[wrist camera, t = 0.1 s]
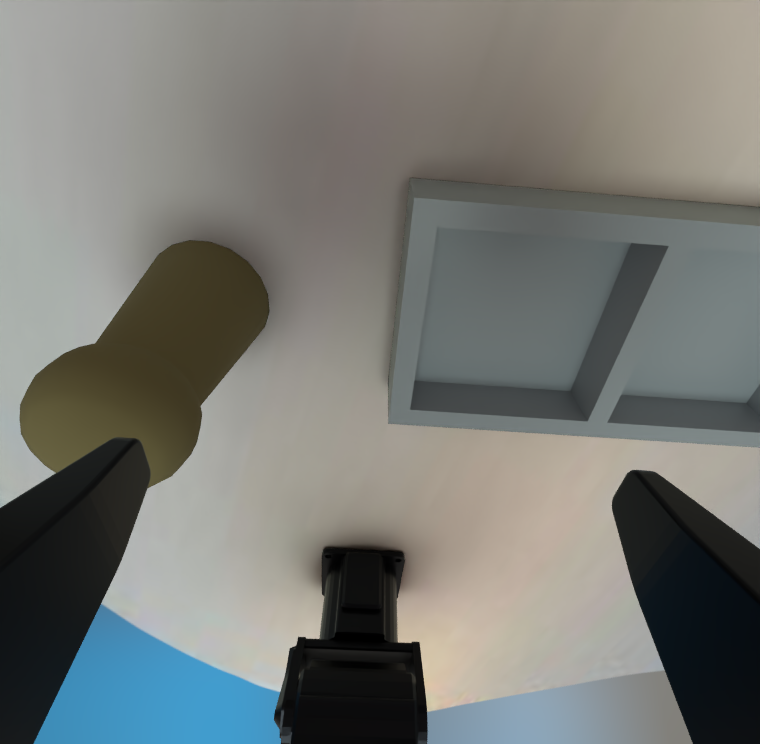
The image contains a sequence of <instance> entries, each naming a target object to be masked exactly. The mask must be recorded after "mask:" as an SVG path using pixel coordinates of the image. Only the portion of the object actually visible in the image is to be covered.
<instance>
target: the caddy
mask: <svg viewBox="0 0 760 744" xmlns="http://www.w3.org/2000/svg"><path fill="white" fill-rule="evenodd" d="M388 424H402V425H417V426H433V427H448V428H464V429H479V430H495V431H510V432H526V433H541V434H557V435H572V436H588V437H603V438H619V439H635V440H650V441H666V442H681V443H697V444H712V445H728V446H743V447H759V448H760V207H752V206H740V205H728V204H716V203H704V202H692V201H680V200H668V199H656V198H644V197H632V196H620V195H608V194H596V193H584V192H573V191H561V190H549V189H537V188H525V187H513V186H501V185H489V184H477V183H465V182H453V181H441V180H429V179H417V178H410V182H409V191H408V200H407V210H406V219H405V229H404V238H403V247H402V257H401V266H400V275H399V285H398V294H397V304H396V313H395V322H394V332H393V341H392V350H391V360H390V369H389V378H388Z"/></svg>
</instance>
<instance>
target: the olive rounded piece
mask: <svg viewBox="0 0 760 744" xmlns="http://www.w3.org/2000/svg"><path fill="white" fill-rule="evenodd" d="M268 315H269V301H268V294H267V291H266V289H265V287H264V284H263V282H262V280H261V277H260V276H259V275H258V274H257V273H256V271H255V270H254V269H253V268H252V266H251V265H250V264H249V263H248V262H247V261H246V260H244V259H243V258H242V257H240V256H239V255H237V254H236V253H235V252H233V251H232V250H230V249H228V248H225V247H223V246H220V245H217V244H215V243H212V242H205V241H191V240H189V241H186V242H182V243H178V244H174V245H171V246H170V247H169V248H167V249H166V250H164V251H163V252H162V253H160V254H159V255H158V256H157V257H156V259H155V260H154V262H153V263H152V264H151V266H150V267H149V269H148V270H147V271H146V273H145V274H144V276H143V277H142V278H141V280H140V281H139V283H138V284H137V286H136V287H135V288H134V290H133V291H132V293H131V294H130V295H129V297H128V298H127V300H126V301H125V302H124V304H123V305H122V307H121V308H120V309H119V311H118V312H117V314H116V315H115V316H114V318H113V319H112V321H111V322H110V323H109V325H108V326H107V328H106V329H105V330H104V332H103V333H102V335H101V336H100V338H99V339H98V340H97V342H96V343H95V344H91V345H86V346H82V347H78V348H76V349H73V350H71V351H69V352H66V353H64V354H63V355H61V356H60V357H58V358H57V359H56V360H54V361H53V362H51V363H50V364H49V365H47V366H46V367H45V368H44V369H43V370H41V371H40V372H39V373H38V374H37V375H35V377H34V379H33V380H32V382H31V384H30V386H29V387H28V389H27V391H26V393H25V396H24V398H23V400H22V402H21V404H20V427H21V435H22V436H23V438H24V440H25V442H26V444H27V446H28V447H29V449H30V451H31V452H32V453H33V454H34V455H35V456H36V457H37V458H38V459H39V460H40V461H41V462H42V463H43V464H44V465H45V466H47V467H48V468H50V469H51V470H53V471H54V472H56V473H57V472H59V471H60V470H62V469H64V468H65V467H67V466H68V465H70V464H72V463H73V462H75V461H76V460H78V459H80V458H81V457H83V456H84V455H86V454H88V453H89V452H91V451H92V450H94V449H96V448H97V447H99V446H101V445H102V444H104V443H105V442H107V441H109V440H110V439H112V438H116V437H124V438H136V439H139V440H140V441H141V443H142V445H143V448H144V451H145V454H146V457H147V460H148V463H149V466H150V470H151V478H150V482H149V485H148V488H149V487H151V486H153V485H155V484H157V483H159V482H161V481H163V480H165V479H167V478H169V477H171V476H172V475H173V474H174V473H175V472H176V471H177V470H178V469H179V468H180V467H181V466H182V464H183V463H184V462H185V461H186V460H187V458H188V457H189V456H190V455H191V453H192V451H193V449H194V447H195V445H196V443H197V440H198V435H199V431H200V426H201V418H202V412H201V407H200V406H201V405H202V403H203V402H204V401H205V400H206V398H207V397H208V396H209V395H210V394H211V392H212V391H213V390H214V389H215V387H216V386H217V385H218V384H219V383H220V381H221V380H222V379H223V378H224V376H225V375H226V374H227V373H228V372H229V370H230V369H231V368H232V367H233V365H234V364H235V363H236V362H237V361H238V359H239V358H240V357H241V356H242V354H243V353H244V352H245V351H246V350H247V348H248V347H249V346H250V345H251V343H252V342H253V341H254V340H255V339H256V337H257V336H258V335H259V333H260V332H261V331H262V330H263V328H264V327H265V325H266V321H267V318H268Z"/></svg>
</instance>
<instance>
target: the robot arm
mask: <svg viewBox="0 0 760 744" xmlns="http://www.w3.org/2000/svg"><path fill="white" fill-rule="evenodd" d="M150 478H151V470H150V466H149V463H148V460H147V457H146V454H145V451H144V448H143V445H142V443H141V441H140V440H139V439H136V438H124V437H116V438H112V439H110V440H109V441H107V442H105V443H104V444H102V445H101V446H99V447H97V448H96V449H94V450H92V451H91V452H89V453H88V454H86V455H84V456H83V457H81V458H80V459H78V460H76V461H75V462H73V463H72V464H70V465H68V466H67V467H65V468H64V469H62V470H60V471H59V472H57V473H56V474H54V475H52V476H51V477H49V478H48V479H46V480H44V481H43V482H41V483H39V484H38V485H36V486H35V487H33V488H31V489H30V490H28V491H27V492H25V493H23V494H22V495H20V496H19V497H17V498H15V499H14V500H12V501H11V502H9V503H7V504H6V505H4V506H3V507H1V508H0V744H33V743H34V741H35V739H36V737H37V735H38V733H39V731H40V729H41V727H42V725H43V723H44V721H45V719H46V716H47V714H48V712H49V710H50V708H51V706H52V704H53V702H54V700H55V698H56V696H57V694H58V691H59V690H60V687H61V685H62V683H63V681H64V679H65V677H66V675H67V673H68V671H69V669H70V667H71V665H72V663H73V660H74V658H75V656H76V654H77V652H78V650H79V648H80V646H81V644H82V642H83V640H84V638H85V636H86V634H87V632H88V629H89V627H90V625H91V623H92V621H93V619H94V617H95V615H96V613H97V611H98V609H99V607H100V605H101V603H102V600H103V598H104V596H105V594H106V592H107V590H108V588H109V586H110V584H111V582H112V580H113V578H114V576H115V573H116V571H117V569H118V567H119V565H120V562H121V560H122V557H123V555H124V552H125V550H126V547H127V544H128V541H129V538H130V536H131V533H132V530H133V527H134V524H135V522H136V519H137V516H138V513H139V510H140V508H141V505H142V502H143V499H144V496H145V494H146V491H147V488H148V485H149V482H150ZM612 511H613V515H614V518H615V522H616V526H617V529H618V533H619V537H620V540H621V544H622V548H623V551H624V555H625V559H626V562H627V566H628V570H629V574H630V577H631V580H632V584H633V587H634V590H635V593H636V596H637V598H638V601H639V604H640V607H641V609H642V612H643V614H644V617H645V620H646V622H647V625H648V628H649V630H650V633H651V635H652V638H653V641H654V643H655V646H656V648H657V651H658V654H659V656H660V659H661V661H662V664H663V667H664V669H665V672H666V675H667V677H668V680H669V682H670V685H671V687H672V690H673V693H674V695H675V698H676V701H677V703H678V706H679V708H680V711H681V713H682V716H683V719H684V721H685V724H686V726H687V729H688V732H689V735H690V737H691V740H692V742H693V744H760V549H759V548H758V547H756V546H755V545H754V544H752V543H751V542H750V541H748V540H747V539H746V538H744V537H743V536H741V535H740V534H739V533H737V532H736V531H735V530H733V529H732V528H731V527H729V526H728V525H727V524H725V523H724V522H723V521H721V520H720V519H718V518H717V517H716V516H714V515H713V514H712V513H710V512H709V511H708V510H706V509H705V508H704V507H702V506H701V505H700V504H698V503H697V502H695V501H694V500H693V499H691V498H690V497H689V496H687V495H686V494H685V493H683V492H682V491H681V490H679V489H678V488H677V487H675V486H674V485H673V484H671V483H670V482H668V481H667V480H666V479H664V478H663V477H662V476H660V475H659V474H657V473H656V472H653V471H643V470H632V471H630V472H628V473H627V475H626V476H625V478H624V480H623V481H622V483H621V485H620V487H619V488H618V490H617V492H616V493H615V495H614V497H613V500H612ZM404 561H405V557H404V554H403V553H401V552H388V551H370V550H352V549H333V548H326V549H324V550H323V552H322V595H324V604H323V613H322V621H321V630H320V638H319V639H306V637H298V641H297V645H296V646H295V647H292V648H290V651H289V657H288V663H287V668H286V673H285V678H284V681H283V685H282V688H281V692H280V695H279V699H278V703H277V706H276V710H275V715H274V721H275V723H276V724H277V726H278V727H279V729H280V738H281V744H427V705H426V695H425V686H424V678H423V669H422V661H421V652H420V643H419V642H412V643H398V638H397V598H398V593H399V588H400V583H401V577H402V572H403V567H404Z"/></svg>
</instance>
